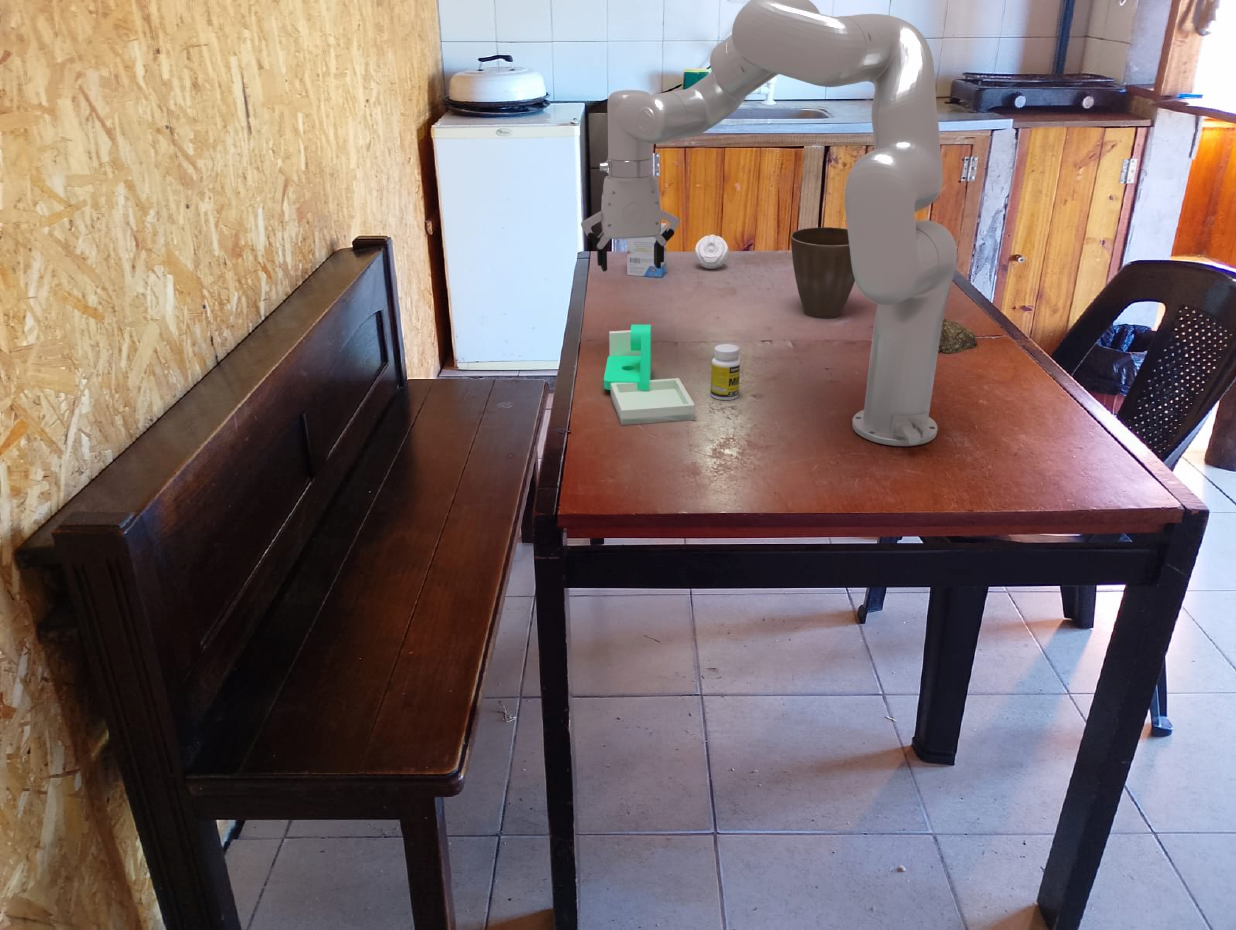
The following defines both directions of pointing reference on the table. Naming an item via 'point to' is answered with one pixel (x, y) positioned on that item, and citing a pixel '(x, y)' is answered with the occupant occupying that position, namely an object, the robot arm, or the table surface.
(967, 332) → the rock
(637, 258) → the ink box
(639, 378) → the camera mount
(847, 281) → the plant pot
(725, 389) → the supplement bottle
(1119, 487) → the table surface
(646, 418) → the tray
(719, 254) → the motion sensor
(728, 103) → the robot arm
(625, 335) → the rear label tag
